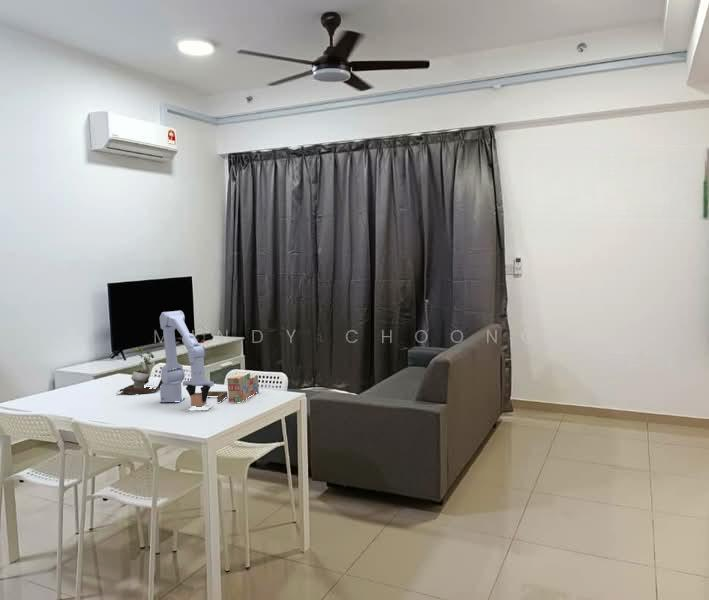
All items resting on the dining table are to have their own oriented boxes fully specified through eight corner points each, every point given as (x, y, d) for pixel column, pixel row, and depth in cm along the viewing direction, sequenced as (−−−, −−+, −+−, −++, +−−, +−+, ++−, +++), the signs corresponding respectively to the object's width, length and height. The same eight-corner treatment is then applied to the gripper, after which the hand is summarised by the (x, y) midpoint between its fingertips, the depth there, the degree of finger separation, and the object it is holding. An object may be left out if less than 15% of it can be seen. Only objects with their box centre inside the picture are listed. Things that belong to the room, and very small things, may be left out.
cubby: (194, 403, 265) (194, 397, 264) (203, 397, 276) (202, 391, 276) (219, 403, 263) (219, 396, 263) (227, 397, 275) (227, 391, 274)
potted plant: (128, 391, 304) (140, 347, 307) (162, 399, 305) (174, 354, 308) (114, 394, 285) (127, 346, 287) (151, 402, 285) (163, 354, 288)
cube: (191, 406, 252) (190, 395, 252) (196, 403, 257) (196, 392, 256) (201, 406, 251) (200, 395, 250) (206, 403, 256) (206, 393, 255)
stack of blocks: (247, 392, 284) (246, 368, 284) (258, 392, 283) (257, 368, 282) (228, 403, 264) (227, 377, 263) (240, 403, 262) (239, 377, 261)
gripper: (216, 370, 255) (217, 399, 256) (187, 370, 258) (189, 398, 259) (208, 373, 248) (210, 403, 249) (179, 373, 252) (181, 402, 253)
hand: (199, 401), depth 254 cm, fingers closed on cube, 5 cm apart
